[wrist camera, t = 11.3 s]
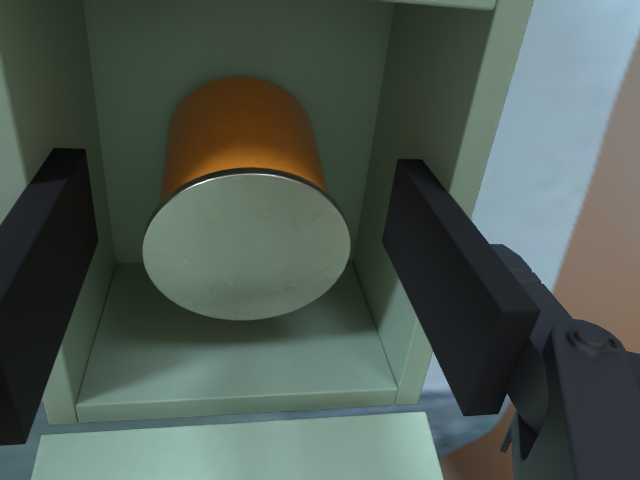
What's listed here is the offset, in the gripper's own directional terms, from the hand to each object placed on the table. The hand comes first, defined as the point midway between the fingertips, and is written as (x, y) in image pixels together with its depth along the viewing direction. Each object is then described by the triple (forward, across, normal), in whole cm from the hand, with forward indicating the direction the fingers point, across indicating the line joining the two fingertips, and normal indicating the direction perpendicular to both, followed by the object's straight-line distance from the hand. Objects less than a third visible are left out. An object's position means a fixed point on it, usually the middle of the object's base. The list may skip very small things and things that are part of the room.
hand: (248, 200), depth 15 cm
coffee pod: (+4, 0, 0) cm, 4 cm away
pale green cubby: (+6, 0, 0) cm, 6 cm away
